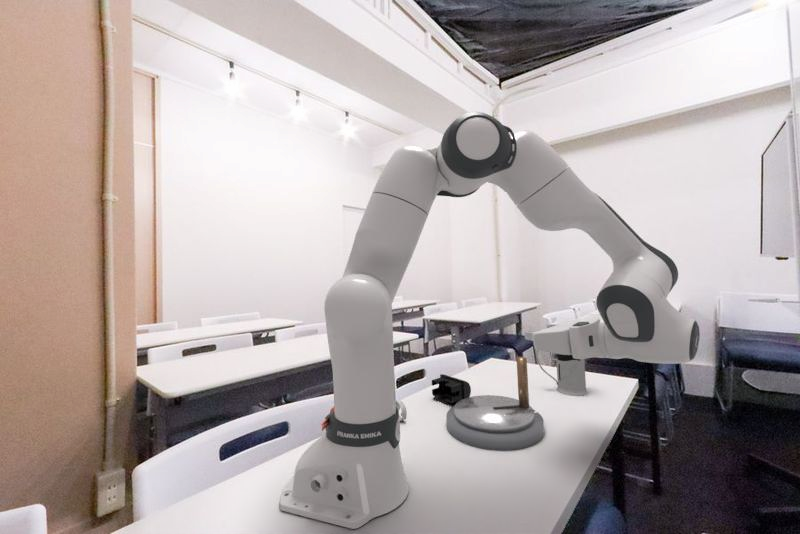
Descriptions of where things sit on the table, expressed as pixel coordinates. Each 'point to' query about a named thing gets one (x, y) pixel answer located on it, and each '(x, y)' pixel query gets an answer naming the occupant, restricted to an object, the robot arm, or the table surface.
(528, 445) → the base
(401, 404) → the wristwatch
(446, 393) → the end cap
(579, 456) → the table surface
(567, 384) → the glass holder
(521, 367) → the dial
